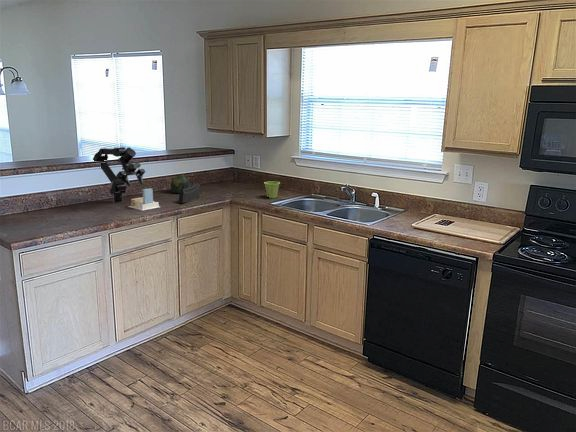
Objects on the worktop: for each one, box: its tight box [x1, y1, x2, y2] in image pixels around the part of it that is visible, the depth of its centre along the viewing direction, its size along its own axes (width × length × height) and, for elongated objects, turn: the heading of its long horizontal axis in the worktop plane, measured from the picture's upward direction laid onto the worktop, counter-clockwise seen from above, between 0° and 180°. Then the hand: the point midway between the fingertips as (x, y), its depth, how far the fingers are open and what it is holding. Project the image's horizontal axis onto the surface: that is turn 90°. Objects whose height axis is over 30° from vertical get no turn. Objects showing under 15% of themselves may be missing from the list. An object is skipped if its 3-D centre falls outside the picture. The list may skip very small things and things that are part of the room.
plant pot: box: [263, 181, 281, 199], centre depth 336 cm, size 12×12×11 cm
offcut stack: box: [130, 196, 143, 208], centre depth 293 cm, size 7×10×4 cm
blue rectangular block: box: [142, 188, 154, 205], centre depth 287 cm, size 2×6×12 cm, turn 143°
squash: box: [170, 173, 191, 194], centre depth 345 cm, size 14×15×15 cm
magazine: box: [178, 181, 203, 204], centre depth 319 cm, size 17×3×30 cm
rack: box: [127, 200, 161, 211], centre depth 291 cm, size 16×14×4 cm
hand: (136, 185), depth 293 cm, fingers open, 9 cm apart
